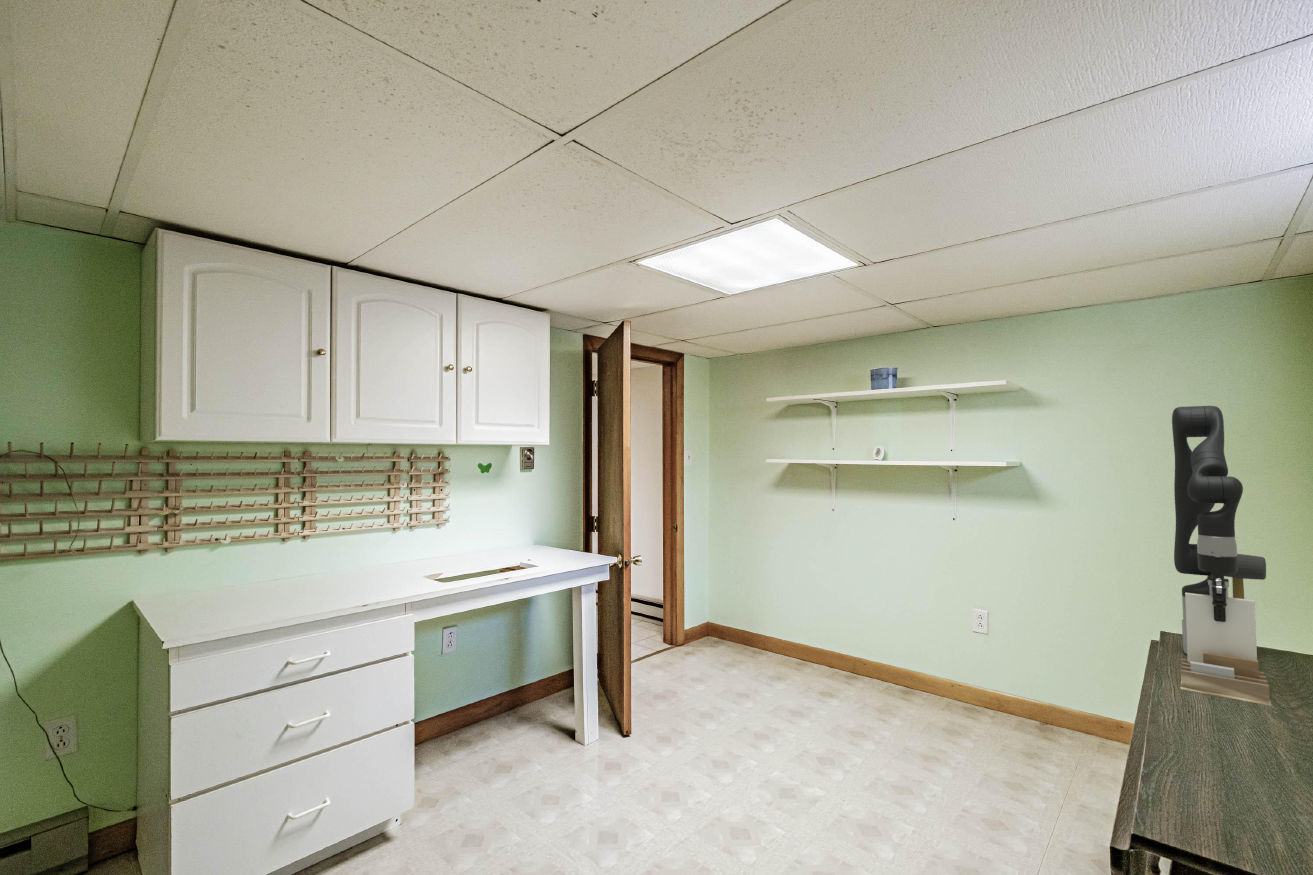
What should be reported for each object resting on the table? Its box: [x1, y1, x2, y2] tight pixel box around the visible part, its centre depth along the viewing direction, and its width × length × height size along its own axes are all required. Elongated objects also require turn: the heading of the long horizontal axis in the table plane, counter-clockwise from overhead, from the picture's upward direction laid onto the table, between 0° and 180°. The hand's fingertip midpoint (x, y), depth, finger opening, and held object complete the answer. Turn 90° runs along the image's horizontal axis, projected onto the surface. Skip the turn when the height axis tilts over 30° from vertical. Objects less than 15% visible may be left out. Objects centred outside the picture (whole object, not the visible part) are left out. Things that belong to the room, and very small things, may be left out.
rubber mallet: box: [1224, 553, 1267, 599], centre depth 182 cm, size 12×8×30 cm, turn 40°
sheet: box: [1185, 593, 1258, 663], centre depth 153 cm, size 2×13×18 cm, turn 48°
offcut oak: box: [1203, 652, 1260, 679], centre depth 149 cm, size 2×10×8 cm, turn 48°
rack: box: [1180, 658, 1272, 707], centre depth 150 cm, size 16×16×5 cm
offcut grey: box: [1190, 661, 1235, 679], centre depth 148 cm, size 2×8×6 cm, turn 48°
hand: (1219, 619), depth 153 cm, fingers closed on sheet, 2 cm apart
